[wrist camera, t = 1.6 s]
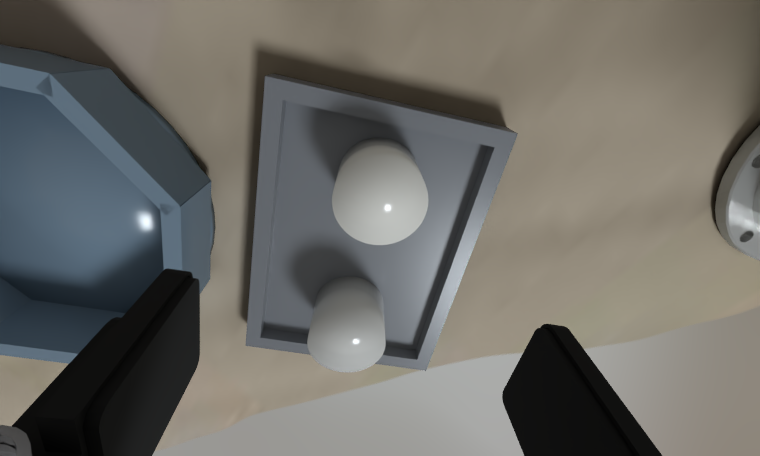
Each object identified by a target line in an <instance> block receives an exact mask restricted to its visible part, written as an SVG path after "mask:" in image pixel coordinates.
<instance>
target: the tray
mask: <svg viewBox="0 0 760 456" xmlns="http://www.w3.org/2000/svg"><path fill="white" fill-rule="evenodd" d="M376 137H380V138H388V139H392V140H394V141H397V142H399V143H400V144H402V145H403V146H405V147H406V148H407V149H408V150H409V151H410V152H411V154H412V155H413V156H414V158H415V160H416V163H417V165H418V167H419V170H420V172H421V175H422V177H423V180H424V182H425V185H426V188H427V192H428V208H427V213H426V215H425V218H424V220H423V221H422V223H421V225H420V226H419V227H418V228H417V229H416V231H415V232H413V233H412V234H411V235H410V236H408V237H407V238H405V239H403V240H401V241H399V242H396V243H393V244H388V245H371V244H367V243H363V242H361V241H358V240H356V239H354V238H353V237H351V236H350V235H348V234H347V233H346V232H345V231H344V230H343V229H342V228H341V226H340V225H339V223H338V222H337V220H336V218H335V215H334V212H333V207H332V194H333V190H334V186H335V182H336V178H337V174H338V170H339V166H340V163H341V161H342V159H343V157H344V155H345V154H346V153H347V151H348V150H349V149H350V148H351V147H353V146H354V145H355V144H357V143H359V142H361V141H363V140H366V139H370V138H376ZM516 137H517V133H516V132H514V131H512V130H511V129H509V128H507V127H503V126H499V125H495V124H490V123H486V122H482V121H477V120H473V119H469V118H464V117H460V116H455V115H451V114H447V113H442V112H438V111H434V110H429V109H425V108H421V107H416V106H412V105H408V104H403V103H399V102H395V101H390V100H386V99H382V98H377V97H373V96H369V95H364V94H360V93H355V92H351V91H347V90H342V89H338V88H334V87H329V86H325V85H321V84H316V83H312V82H308V81H303V80H299V79H295V78H290V77H286V76H282V75H277V74H270V75H267V76H265V84H264V98H263V112H262V125H261V139H260V153H259V167H258V181H257V195H256V209H255V223H254V237H253V251H252V265H251V279H250V292H249V306H248V320H247V334H246V346H252V347H259V348H266V349H274V350H281V351H288V352H295V353H302V354H310V352H309V350H308V345H307V340H308V334H309V330H310V325H311V320H312V316H313V311H314V306H315V301H316V297H317V294H318V292H319V291H320V289H321V288H322V287H323V286H324V285H325V284H326V283H328V282H329V281H331V280H333V279H336V278H340V277H346V276H352V277H358V278H362V279H365V280H367V281H369V282H371V283H372V284H373V285H375V286H376V287H377V289H378V290H379V291H380V293H381V295H382V298H383V304H384V322H385V340H386V346H385V350H384V353H383V355H382V356H381V358H380V359H379V360H378V361H377V362H376V363H375V364H382V365H389V366H396V367H403V368H410V369H418V370H425V371H426V369H427V367H428V364H429V362H430V359H431V356H432V354H433V351H434V349H435V346H436V344H437V341H438V338H439V336H440V333H441V331H442V328H443V325H444V323H445V320H446V318H447V315H448V313H449V310H450V307H451V305H452V302H453V300H454V297H455V294H456V292H457V289H458V287H459V284H460V282H461V279H462V276H463V274H464V271H465V269H466V266H467V263H468V261H469V258H470V256H471V253H472V251H473V248H474V245H475V243H476V240H477V238H478V235H479V233H480V230H481V227H482V225H483V222H484V220H485V217H486V214H487V212H488V209H489V207H490V204H491V202H492V199H493V196H494V194H495V191H496V189H497V186H498V183H499V181H500V178H501V176H502V173H503V171H504V168H505V165H506V163H507V160H508V158H509V155H510V152H511V150H512V147H513V145H514V142H515V140H516ZM310 355H311V354H310Z"/></svg>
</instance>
